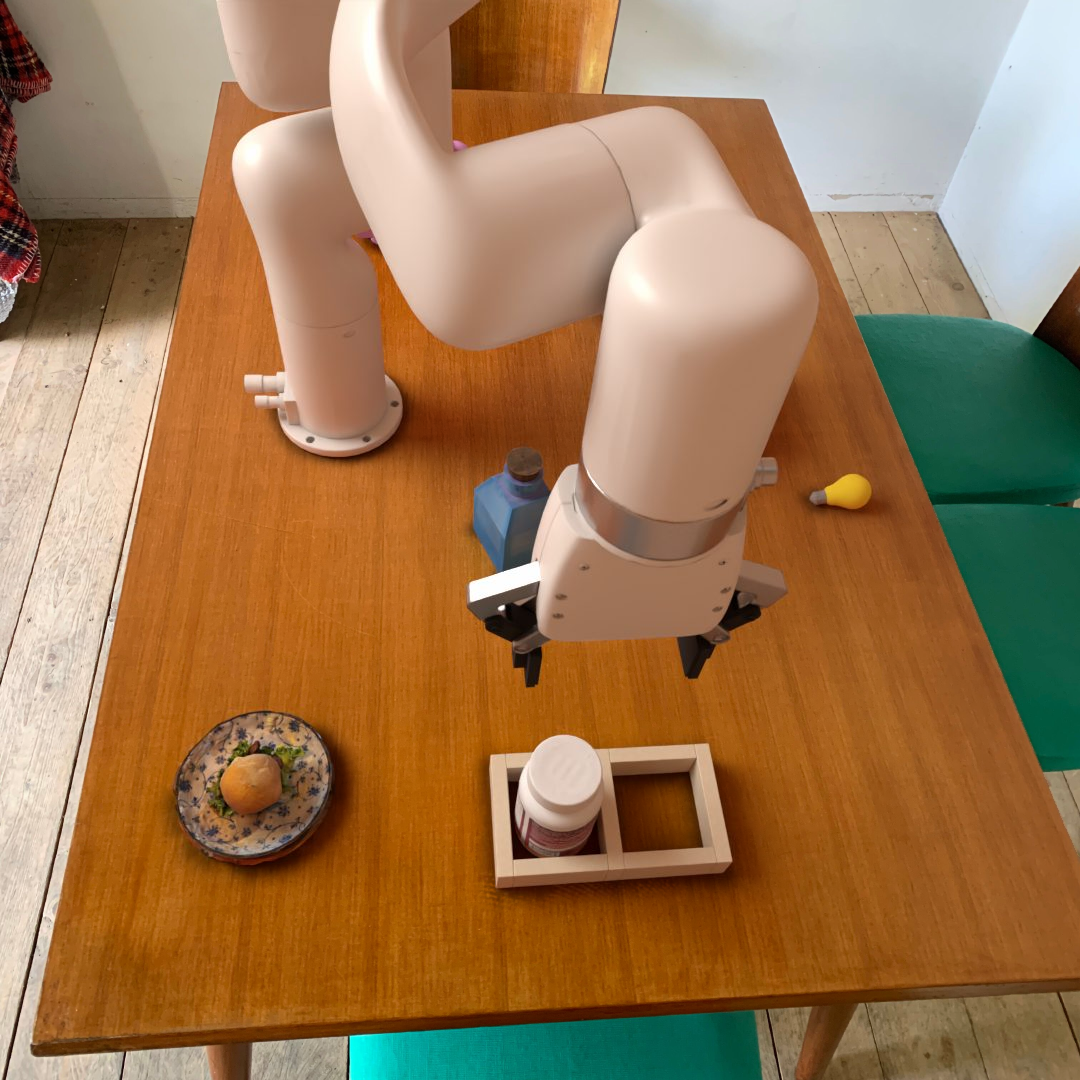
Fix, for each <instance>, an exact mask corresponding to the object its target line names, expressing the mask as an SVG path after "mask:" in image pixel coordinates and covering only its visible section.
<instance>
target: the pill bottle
mask: <svg viewBox="0 0 1080 1080" xmlns="http://www.w3.org/2000/svg"><path fill="white" fill-rule="evenodd" d="M594 749H595V748H594V747H593V746H592V745H591V744H590V743H589V742H588V741H586V740H584V739H583V738H580V737H578V736H575V735H571V734H558V735H554V736H551V737H548V738H547V739H544V740H543V741H542V742H540V743H539V744H538V745H537V746H536V747H535V749H534V750H533V754H532V756H531V758H530V760H529V761H528V762H527V764H526V765H525V767H524V769H523V771H522V774H521V777H520V780H519V781H518V788H517V795H516V801H515V806H514V807H515V808H514V816H513V817H514V819H513V820H514V821H513V823H514V829H515V833H516V836H517V838H518V840H519V842H520V843H521V844H522V846H523V847H524V848H525V850H527V851H528V852H529V853H530V854H532V855H533V856H534V857H537V858H551V857H566V856H575V855H576V854H577V853H579V852H580V851H581V850H582V849H583V848H584V847H585V846H586V844H587V842H588V841H589V839H590V836H591V834H592V831H593V829H594V826H595V823H596V818H597V816H598V812H599V810H600V807H601V804H602V801H603V797H604V782H603V778H602V764H601V761H600V758H599V756H598V754H597V752H596V751H595V750H594Z"/></svg>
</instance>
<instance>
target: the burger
mask: <svg viewBox="0 0 1080 1080" xmlns="http://www.w3.org/2000/svg"><path fill="white" fill-rule="evenodd" d="M335 786H336V775H335V765H334V762H333V759H332V756H331V753H330V751H329V750H328V748H327V746H326V744H325V743H324V740H323V738H322V737H321V735H320V733H318V732H317V731H316V730H315V729H314V727H313V726H312V725H311V724H310V723H308V722H307V721H306V720H305V719H303V718H301V717H300V716H297V715H294V714H292V713H288V712H282V711H275V710H267V709H266V710H256V711H250V712H245V713H242V714H238V715H235V716H233V717H231V718H227V719H225V720H223V721H221V722H219V723H217V724H216V725H215V726H213V727H212V729H210V730H209V731H208V733H206V734H205V735H204V736H203V737H202V738H201V739H200V740H199V741H198V742H197V743H196V744H195V745H193V746H192V748H190V749H189V750H188V753H187V755H186V756H185V758H184V759H183V760H182V762H180V763H179V765H178V767H177V770H176V772H175V775H174V778H173V784H172V791H173V794H174V797H175V805H174V809H175V812H176V813H177V815H178V818H177V820H178V824H179V827H180V829H181V831H182V832H183V833H184V835H185V836H186V837H187V839H188V840H189V841H190V842H191V844H192V845H193V846H194V848H196V849H197V850H198V851H200V852H202V853H203V854H204V855H206V856H207V857H211V858H213V859H216V860H218V861H219V862H227V863H232V864H234V865H237V866H255V865H258V864H262V863H263V862H272V861H275V860H277V859H280V858H283V857H286V856H287V855H288V854H290V853H292V852H293V851H295V850H296V849H298V848H300V846H302V845H303V844H305V842H306V841H308V840H309V839H310V838H311V837H312V836H313V835H314V834H315V832H316V831H317V829H319V827H320V826H321V825H322V823H323V822H324V819H325V818H326V815H328V812H329V810H330V807H331V804H332V801H333V798H334V794H335Z"/></svg>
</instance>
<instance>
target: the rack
mask: <svg viewBox="0 0 1080 1080" xmlns="http://www.w3.org/2000/svg"><path fill="white" fill-rule="evenodd" d="M594 750H595V751H596V752H597V754H598V756H599V758H600V761H601V764H602V778H603V782H604V797H603V801H602V804H601V807H600V810H599V812H598V816H597V818H596V821H595V823H596V829H597V830H596V831H597V837H598V846H599V854H585V855H573V856H566V857H551V858H539V857H537V858H536V857H535V858H523V859H522V858H521V859H514V854H513V839H512V838H513V837H512V826H511V825H512V822H511V811H510V795H509V783H510V782H519V780H520V777H521V774H522V771H523V769H524V767H525V765H526V764H527V762H528V761H529V760H530V758H531V756H532V754H533V752H534V751H533V752H517V753H516V752H515V753H495V754H490V757H489V768H488V769H489V770H488V771H489V788H490V801H491V802H490V804H491V821H492V822H491V823H492V824H491V825H492V840H493V842H492V843H493V855H494V856H493V857H494V859H493V860H494V877H495V888H496V889H505V888H506V889H507V888H519V887H520V888H521V887H535V886H550V885H564V884H566V885H567V884H577V883H578V884H579V883H595V882H607V881H619V880H620V881H623V880H637V879H651V878H666V877H667V878H668V877H679V876H680V877H682V876H696V875H710V874H711V875H712V874H723V873H724V872H725V871H726V870H727V869H728V868H729V867H730V865H731V864H733V857H732V852H731V846H730V842H729V836H728V832H727V828H726V821H725V817H724V813H723V812H724V811H723V807H722V803H721V802H722V801H721V798H720V792H719V788H718V787H719V786H718V782H717V778H716V777H717V776H716V773H715V767H714V762H713V758H712V753H711V752H712V751H711V748H710V743H708V742H707V743H695V744H694V743H690V744H673V745H672V744H671V745H651V746H632V747H631V746H630V747H617V748H615V747H614V748H594ZM688 772H689V778H690V782H691V788H692V795H693V798H694V804H695V810H696V816H697V820H698V821H697V822H698V825H699V831H700V837H701V842H702V847H692V848H676V849H662V850H646V851H645V850H644V851H631V852H629V851H628V852H623V846H622V844H623V843H622V837H621V831H620V830H621V829H620V823H619V816H618V809H617V808H618V807H617V801H616V800H617V799H616V793H615V786H614V779H613V777H616V776H635V775H637V776H638V775H650V774H651V775H653V774H672V773H673V774H674V773H688ZM589 878H590V879H589Z"/></svg>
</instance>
